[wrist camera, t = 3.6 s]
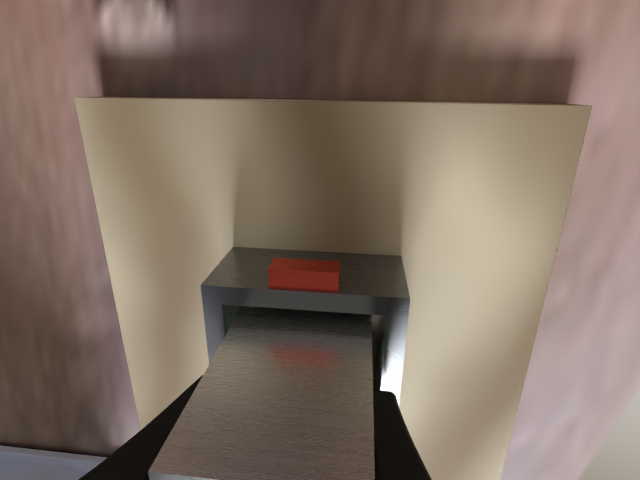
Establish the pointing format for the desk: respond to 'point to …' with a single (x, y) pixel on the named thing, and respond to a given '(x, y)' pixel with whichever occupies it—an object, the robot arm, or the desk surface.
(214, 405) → the column
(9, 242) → the desk surface
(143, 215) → the stand base
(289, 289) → the sleeve
